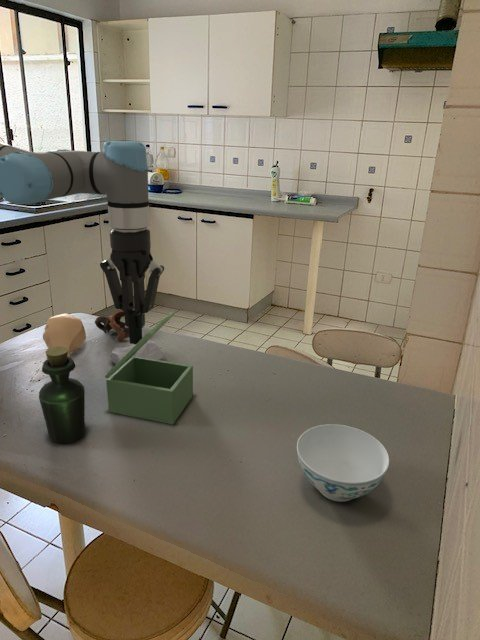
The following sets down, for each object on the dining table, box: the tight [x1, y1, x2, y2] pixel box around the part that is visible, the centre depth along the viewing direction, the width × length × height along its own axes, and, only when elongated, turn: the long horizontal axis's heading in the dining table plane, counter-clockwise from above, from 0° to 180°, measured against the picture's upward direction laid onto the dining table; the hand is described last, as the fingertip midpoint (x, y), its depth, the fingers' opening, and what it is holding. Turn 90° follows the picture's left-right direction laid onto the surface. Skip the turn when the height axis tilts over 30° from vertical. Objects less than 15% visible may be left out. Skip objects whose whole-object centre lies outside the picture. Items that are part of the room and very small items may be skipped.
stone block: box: [110, 339, 166, 366], centre depth 118 cm, size 12×5×10 cm
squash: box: [42, 313, 87, 360], centre depth 121 cm, size 11×20×9 cm, turn 15°
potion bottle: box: [38, 346, 86, 444], centre depth 87 cm, size 8×8×18 cm
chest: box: [105, 356, 194, 425], centre depth 100 cm, size 15×12×8 cm
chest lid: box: [104, 311, 175, 380], centre depth 97 cm, size 15×12×1 cm
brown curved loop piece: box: [94, 309, 130, 342], centre depth 133 cm, size 12×10×8 cm
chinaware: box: [296, 423, 390, 502], centre depth 78 cm, size 15×15×8 cm
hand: (136, 341), depth 97 cm, fingers closed
